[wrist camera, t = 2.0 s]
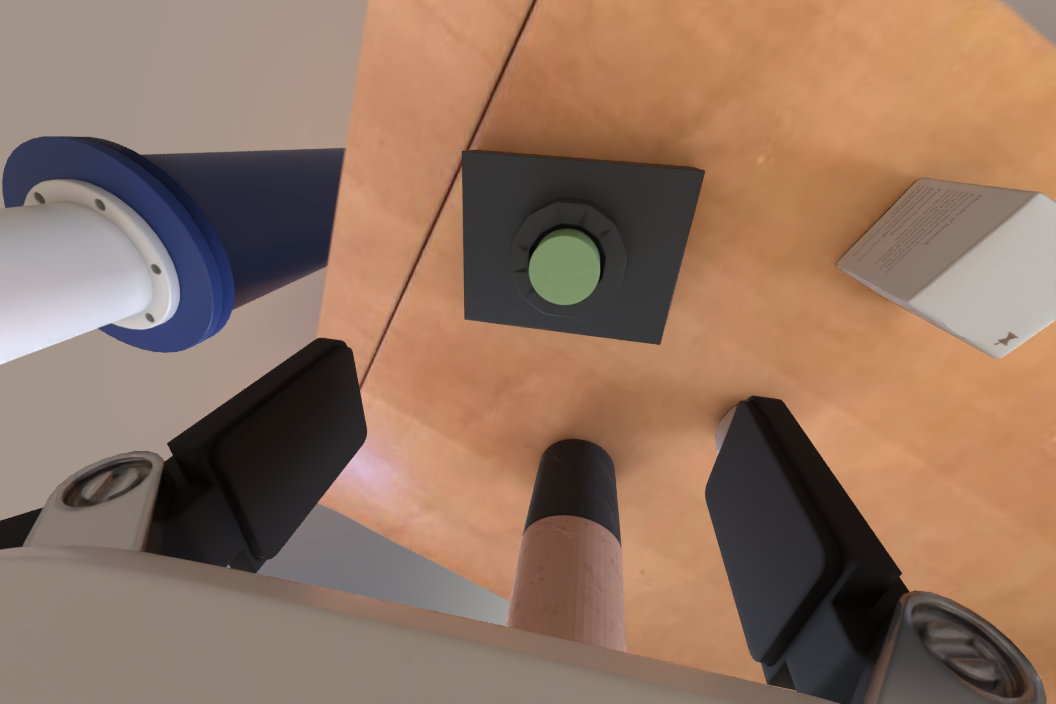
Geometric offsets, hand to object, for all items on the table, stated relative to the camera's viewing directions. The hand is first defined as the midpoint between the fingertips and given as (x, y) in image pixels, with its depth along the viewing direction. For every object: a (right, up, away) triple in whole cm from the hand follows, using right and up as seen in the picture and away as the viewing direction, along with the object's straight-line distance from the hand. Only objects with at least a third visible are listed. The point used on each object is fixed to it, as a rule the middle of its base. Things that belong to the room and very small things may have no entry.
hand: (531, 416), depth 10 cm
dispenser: (+3, +9, +18) cm, 21 cm away
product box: (+24, +8, +15) cm, 29 cm away
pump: (+2, +7, +14) cm, 16 cm away
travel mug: (+5, -9, +28) cm, 30 cm away
